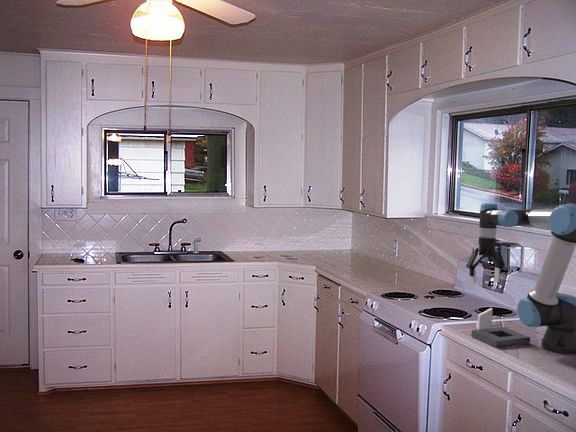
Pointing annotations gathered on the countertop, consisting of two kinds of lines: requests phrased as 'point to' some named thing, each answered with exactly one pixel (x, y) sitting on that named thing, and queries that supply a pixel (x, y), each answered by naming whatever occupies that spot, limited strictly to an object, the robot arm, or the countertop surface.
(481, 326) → the white wedge bracket
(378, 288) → the countertop surface
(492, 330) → the grey square frame
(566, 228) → the robot arm
